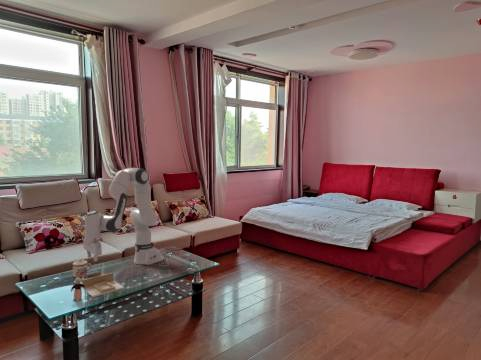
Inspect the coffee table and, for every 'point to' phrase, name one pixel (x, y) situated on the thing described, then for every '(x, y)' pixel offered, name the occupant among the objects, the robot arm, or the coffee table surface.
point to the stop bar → (92, 274)
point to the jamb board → (100, 285)
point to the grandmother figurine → (77, 289)
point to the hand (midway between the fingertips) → (92, 259)
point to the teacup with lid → (80, 268)
